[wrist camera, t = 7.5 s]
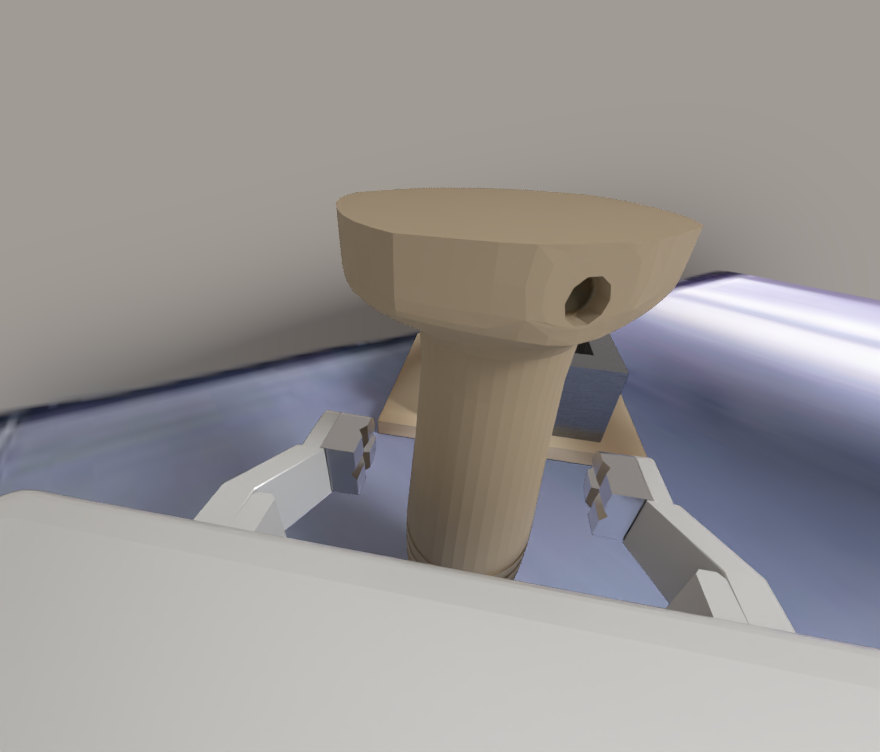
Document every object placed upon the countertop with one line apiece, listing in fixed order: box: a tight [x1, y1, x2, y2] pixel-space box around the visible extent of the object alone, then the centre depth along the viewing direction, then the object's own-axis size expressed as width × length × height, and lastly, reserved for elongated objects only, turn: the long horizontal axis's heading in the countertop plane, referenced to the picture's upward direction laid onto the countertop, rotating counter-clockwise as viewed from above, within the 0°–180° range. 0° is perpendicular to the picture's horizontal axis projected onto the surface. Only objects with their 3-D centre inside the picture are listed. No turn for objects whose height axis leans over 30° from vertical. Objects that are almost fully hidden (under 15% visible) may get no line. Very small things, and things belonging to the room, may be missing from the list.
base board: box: [378, 333, 647, 466], centre depth 27 cm, size 16×12×1 cm
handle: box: [336, 188, 703, 580], centre depth 11 cm, size 5×6×15 cm
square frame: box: [552, 334, 629, 443], centre depth 25 cm, size 11×10×5 cm
